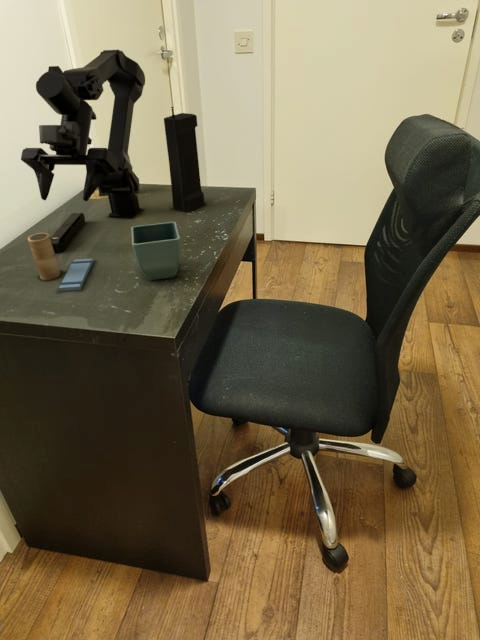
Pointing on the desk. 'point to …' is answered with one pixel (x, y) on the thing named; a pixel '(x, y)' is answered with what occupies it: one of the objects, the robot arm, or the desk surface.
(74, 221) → the black rectangular bar
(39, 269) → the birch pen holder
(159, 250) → the flower pot
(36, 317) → the desk surface
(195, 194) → the portable radio
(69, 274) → the light blue flat block
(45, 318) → the desk surface
